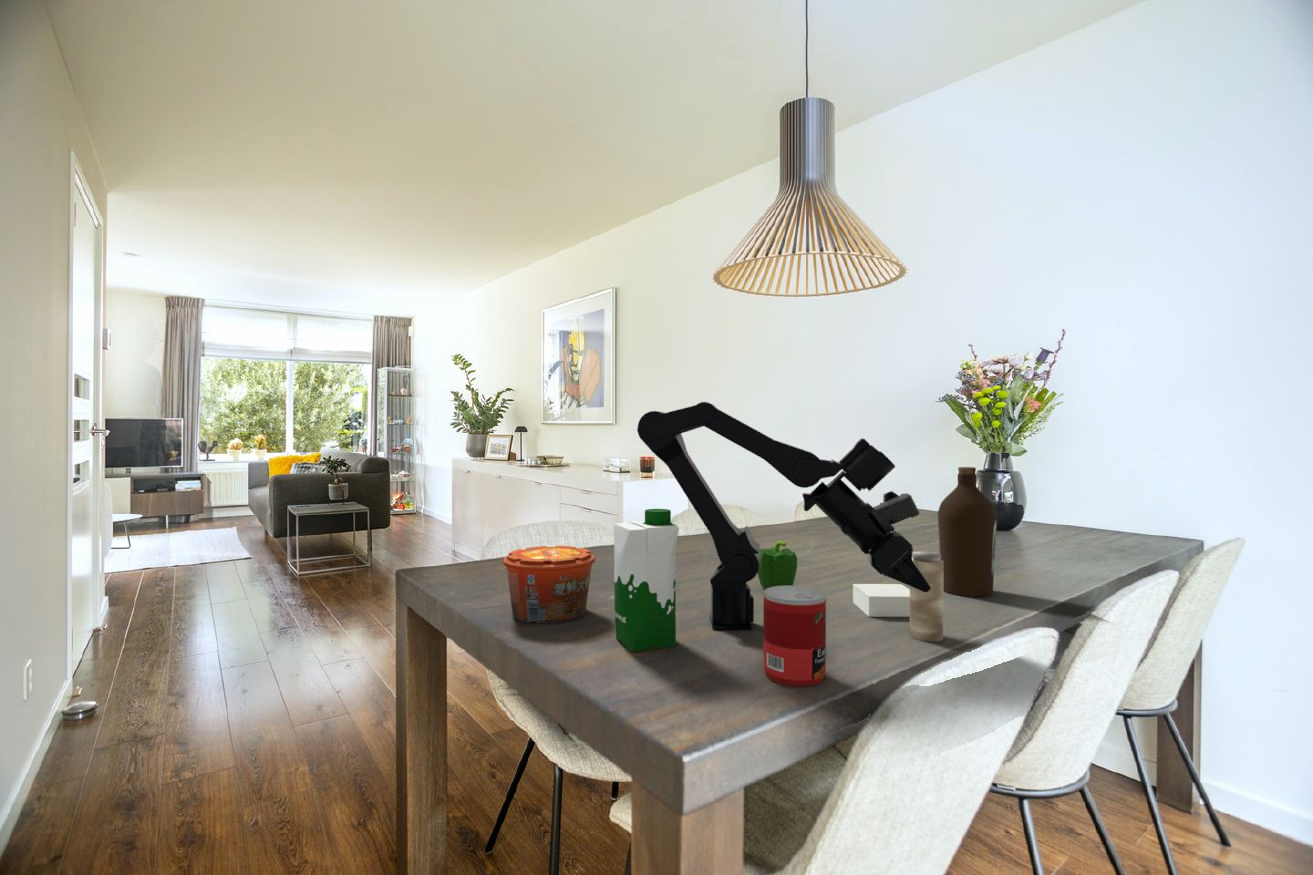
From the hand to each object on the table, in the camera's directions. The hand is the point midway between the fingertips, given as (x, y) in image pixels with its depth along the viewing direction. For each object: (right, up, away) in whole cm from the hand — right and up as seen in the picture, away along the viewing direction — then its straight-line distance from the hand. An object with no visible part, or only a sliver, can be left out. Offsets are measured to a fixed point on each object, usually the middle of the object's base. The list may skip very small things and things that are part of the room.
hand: (922, 583), depth 97 cm
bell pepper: (-17, -8, +30) cm, 36 cm away
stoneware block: (0, -8, +15) cm, 17 cm away
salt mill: (+1, -8, 0) cm, 8 cm away
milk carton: (-43, -9, -3) cm, 44 cm away
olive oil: (+21, -8, +28) cm, 36 cm away
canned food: (-24, -9, -16) cm, 30 cm away
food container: (-61, -8, +13) cm, 63 cm away
